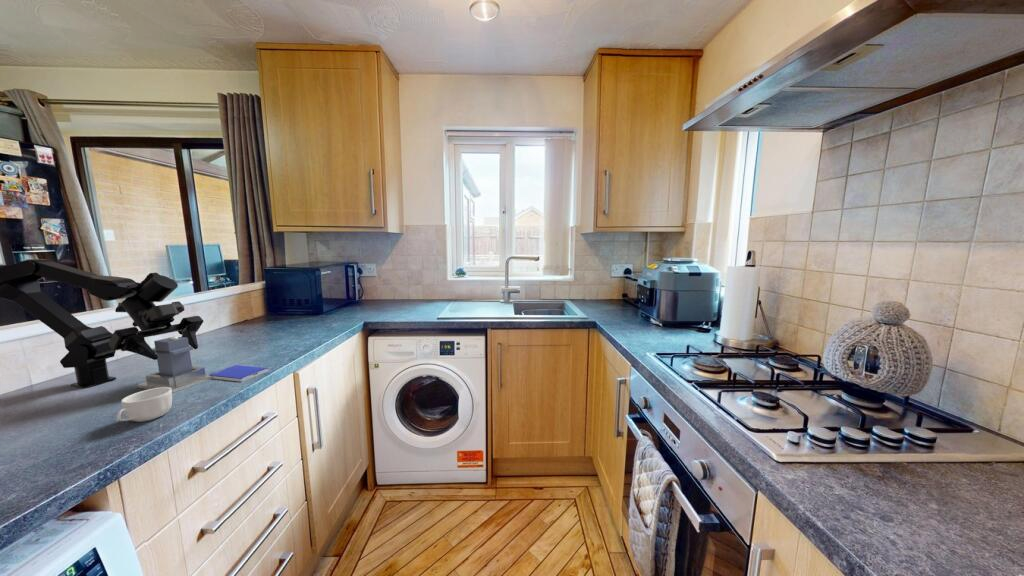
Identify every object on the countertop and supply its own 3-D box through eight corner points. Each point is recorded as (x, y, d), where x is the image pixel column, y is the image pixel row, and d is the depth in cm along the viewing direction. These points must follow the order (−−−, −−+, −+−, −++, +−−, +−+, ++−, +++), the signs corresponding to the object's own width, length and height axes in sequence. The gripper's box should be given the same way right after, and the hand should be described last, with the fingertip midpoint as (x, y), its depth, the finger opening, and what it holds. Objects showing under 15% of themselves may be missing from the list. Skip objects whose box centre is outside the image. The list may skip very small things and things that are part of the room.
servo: (157, 381, 94) (150, 338, 92) (176, 375, 98) (170, 333, 96) (178, 384, 91) (171, 340, 90) (197, 378, 96) (191, 335, 94)
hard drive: (208, 374, 98) (241, 377, 95) (237, 364, 106) (268, 367, 103) (209, 379, 98) (241, 382, 95) (237, 369, 106) (268, 372, 103)
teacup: (152, 408, 80) (149, 387, 79) (184, 408, 80) (181, 386, 79) (101, 431, 70) (97, 407, 69) (138, 431, 70) (134, 407, 69)
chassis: (137, 387, 92) (135, 376, 91) (181, 373, 101) (180, 363, 101) (172, 392, 88) (170, 380, 88) (214, 378, 98) (213, 367, 97)
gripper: (107, 299, 83) (144, 344, 82) (195, 289, 101) (226, 326, 100) (93, 328, 87) (128, 372, 85) (180, 313, 104) (210, 349, 103)
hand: (177, 353), depth 93 cm, fingers open, 9 cm apart
